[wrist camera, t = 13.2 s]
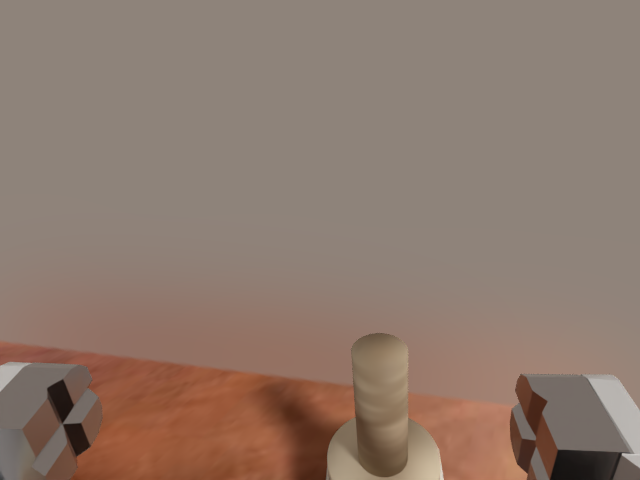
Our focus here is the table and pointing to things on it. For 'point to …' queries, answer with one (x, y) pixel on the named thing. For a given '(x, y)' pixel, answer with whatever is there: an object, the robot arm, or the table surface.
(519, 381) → the robot arm
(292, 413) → the table surface
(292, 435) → the table surface
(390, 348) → the beige peg with base
